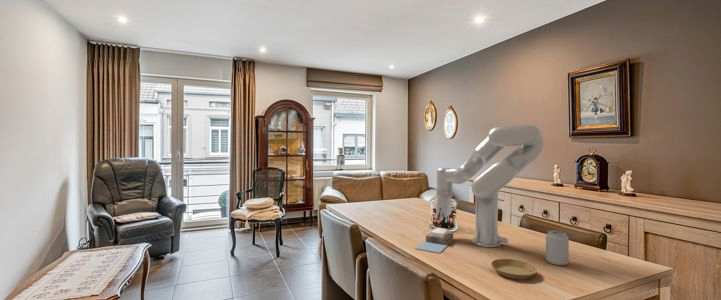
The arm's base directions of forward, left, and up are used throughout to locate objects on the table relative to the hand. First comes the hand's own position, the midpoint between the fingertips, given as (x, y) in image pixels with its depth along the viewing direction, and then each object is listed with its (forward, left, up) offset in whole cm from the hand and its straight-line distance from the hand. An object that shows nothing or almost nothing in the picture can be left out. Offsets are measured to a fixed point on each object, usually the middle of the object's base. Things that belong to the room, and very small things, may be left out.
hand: (444, 229), depth 156 cm
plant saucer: (-35, +30, -4) cm, 46 cm away
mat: (0, +18, -4) cm, 19 cm away
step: (0, +8, -4) cm, 8 cm away
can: (-48, +10, -4) cm, 49 cm away
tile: (0, +7, -1) cm, 7 cm away
